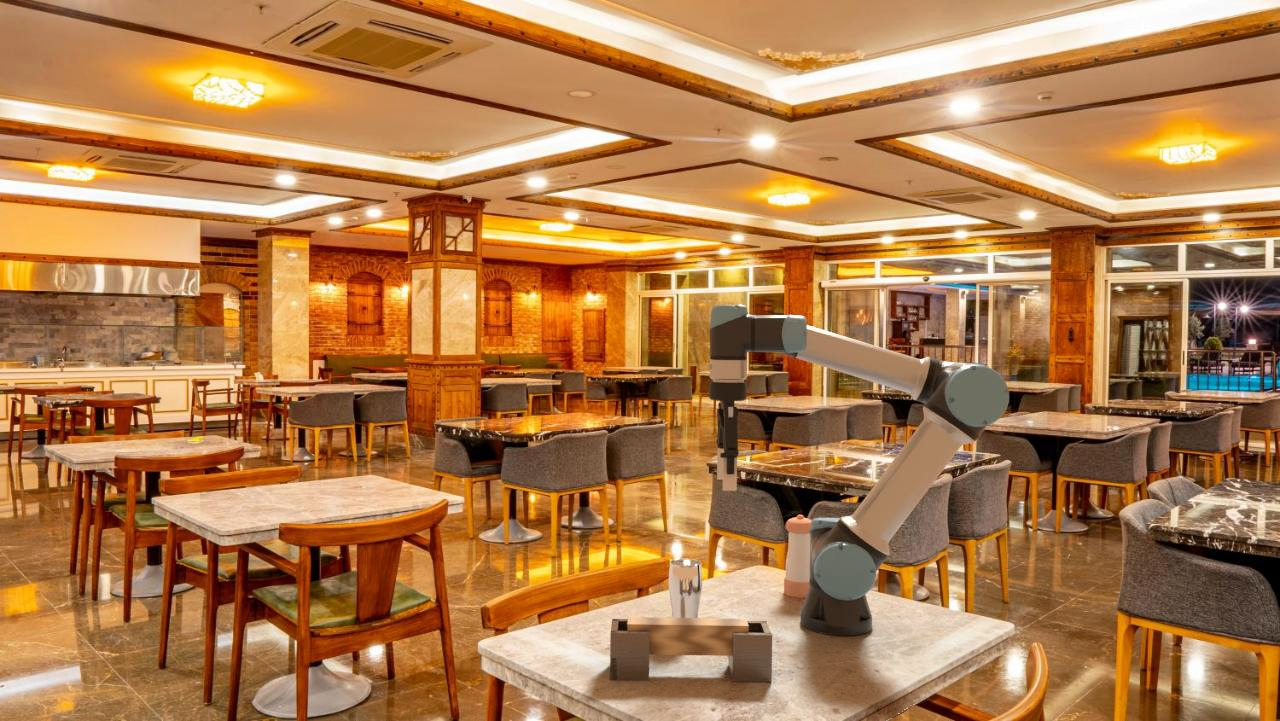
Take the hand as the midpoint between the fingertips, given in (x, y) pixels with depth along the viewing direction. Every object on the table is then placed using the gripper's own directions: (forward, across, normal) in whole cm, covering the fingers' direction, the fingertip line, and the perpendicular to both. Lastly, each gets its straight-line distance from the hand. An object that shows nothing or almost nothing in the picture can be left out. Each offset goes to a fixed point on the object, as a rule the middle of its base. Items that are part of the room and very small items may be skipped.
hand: (726, 484), depth 179 cm
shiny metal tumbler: (+32, -3, -8) cm, 33 cm away
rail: (+28, +19, -8) cm, 34 cm away
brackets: (+32, +18, -8) cm, 38 cm away
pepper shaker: (+32, -33, +21) cm, 50 cm away
